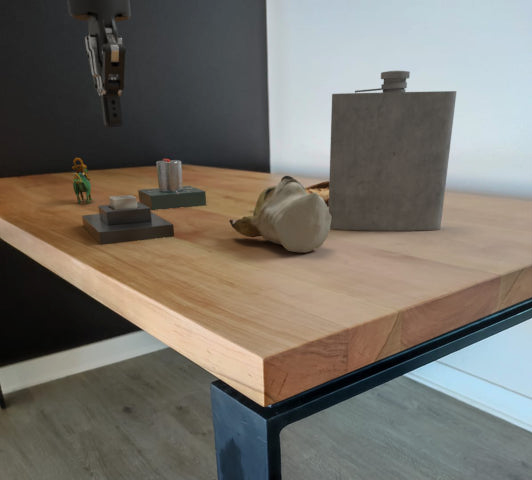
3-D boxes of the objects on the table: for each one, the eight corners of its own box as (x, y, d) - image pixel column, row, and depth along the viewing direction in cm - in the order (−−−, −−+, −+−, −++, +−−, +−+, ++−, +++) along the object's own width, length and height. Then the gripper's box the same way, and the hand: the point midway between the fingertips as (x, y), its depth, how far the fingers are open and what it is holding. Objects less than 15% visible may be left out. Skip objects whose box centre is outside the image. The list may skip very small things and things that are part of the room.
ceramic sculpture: (272, 180, 58) (222, 175, 70) (275, 261, 61) (226, 243, 74) (356, 175, 62) (294, 171, 74) (354, 251, 65) (295, 235, 78)
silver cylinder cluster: (186, 190, 98) (184, 159, 96) (163, 192, 96) (160, 161, 94) (178, 187, 102) (175, 158, 100) (155, 189, 100) (152, 159, 98)
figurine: (97, 197, 109) (91, 154, 106) (87, 207, 98) (80, 160, 95) (82, 198, 109) (75, 155, 106) (69, 208, 98) (62, 160, 95)
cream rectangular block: (115, 212, 75) (113, 199, 75) (110, 209, 78) (108, 196, 77) (138, 210, 77) (136, 197, 76) (132, 207, 79) (131, 194, 79)
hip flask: (438, 225, 79) (456, 70, 70) (443, 231, 75) (462, 68, 67) (328, 224, 80) (332, 73, 72) (327, 230, 77) (332, 71, 68)
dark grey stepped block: (100, 245, 71) (97, 218, 69) (83, 226, 82) (79, 203, 81) (174, 236, 75) (172, 210, 73) (148, 220, 86) (145, 197, 85)
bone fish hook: (336, 199, 104) (252, 206, 97) (337, 174, 103) (251, 178, 95) (365, 204, 97) (276, 211, 89) (367, 177, 95) (276, 182, 88)
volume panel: (152, 210, 94) (150, 194, 93) (139, 203, 102) (137, 188, 101) (206, 205, 98) (205, 190, 97) (190, 199, 106) (189, 184, 105)
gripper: (56, -19, 70) (77, 126, 78) (71, -42, 60) (94, 129, 67) (114, -15, 73) (129, 124, 81) (139, -36, 63) (153, 127, 70)
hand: (113, 126), depth 74 cm, fingers closed
